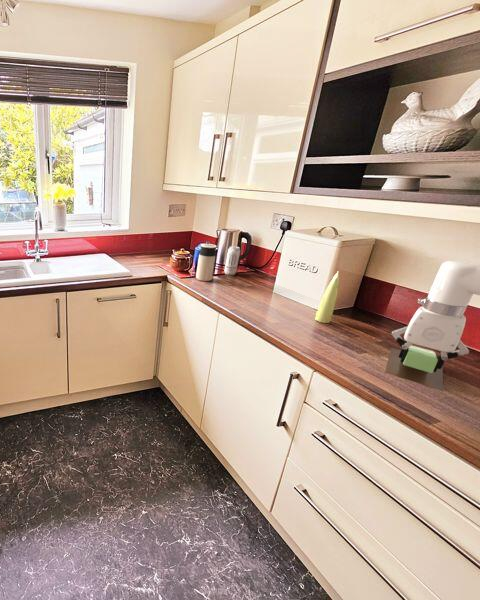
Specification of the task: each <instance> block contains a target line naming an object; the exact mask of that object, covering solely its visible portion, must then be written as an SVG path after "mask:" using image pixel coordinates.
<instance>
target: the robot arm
mask: <svg viewBox="0 0 480 600" xmlns="http://www.w3.org/2000/svg"><path fill="white" fill-rule="evenodd" d="M473 295H477V296H480V264H477V263H473V262H469V261H463V260H447V261H445V262H443V263H442V264H441V265H440V267H439V269H438V271H437V273H436V276H435V278H434V281H433V283H432V285H431V287H430V289H429V293H428V294H427V296H426V297H425V298H418V299H417V304H420V305H421V306H419V307H418V309H416V311H415V313H414V314H413V316H412V317H411V319H410V321H409V323H408V324H407V326H404V327H401V328H398V329H395V330H392V331H391V336H392V337H393V338H394V339H395V341H396V342H397V344H398V345H399V346H400V348H401V349H400V350H401V351H400V353H399V356H398V357H399V358H401V359H400V362H404V360H405V358H406V356H407V353H408V351H409V347H410V346H411V345H414V346H418V347H422V348H426V349H430V350H434V351H439V352H440V353H439V354H438V355H436V357H437V359H438V361H437V364H436V366H435V368H434V370H433V372H436V371H437V369H441V368H442V366H444V363H445V362H446V361H448V360H450V359H454V358H458V357H462V356H465V355H468V354H470V350H469V349H468V347H467V346H466V345H465V344H464V343H463V341H462V340H461V339H462V335H463V332H464V329H465V326H466V321H467V317H466V316H465V315H464V314H465V312H466V309H467V308H468V305H469V303H470V302H471V300H472V297H473ZM401 335H404V336H403V337H402V336H401ZM457 348H458V349H457Z"/></svg>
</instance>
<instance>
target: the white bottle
mask: <svg viewBox="0 0 480 600" xmlns="http://www.w3.org/2000/svg"><path fill="white" fill-rule="evenodd" d="M240 254H241V249H240V246H235V245H230V246H229V248H228V249H227V254H226V258H225V265H224V274H225V275H227V276H235V275H236V273H237V270H238V266H239V265H238V264H239V260H240V256H241V255H240Z"/></svg>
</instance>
